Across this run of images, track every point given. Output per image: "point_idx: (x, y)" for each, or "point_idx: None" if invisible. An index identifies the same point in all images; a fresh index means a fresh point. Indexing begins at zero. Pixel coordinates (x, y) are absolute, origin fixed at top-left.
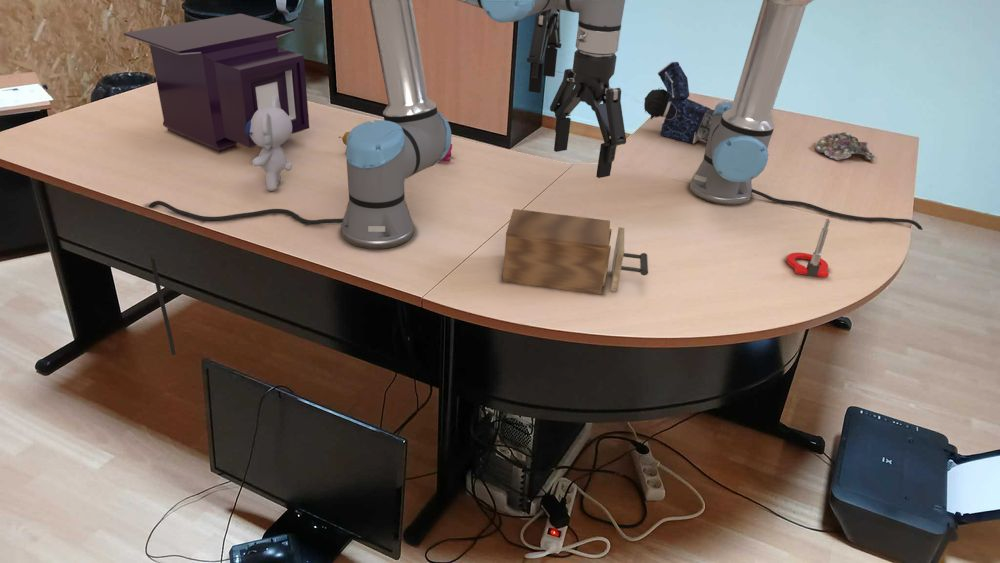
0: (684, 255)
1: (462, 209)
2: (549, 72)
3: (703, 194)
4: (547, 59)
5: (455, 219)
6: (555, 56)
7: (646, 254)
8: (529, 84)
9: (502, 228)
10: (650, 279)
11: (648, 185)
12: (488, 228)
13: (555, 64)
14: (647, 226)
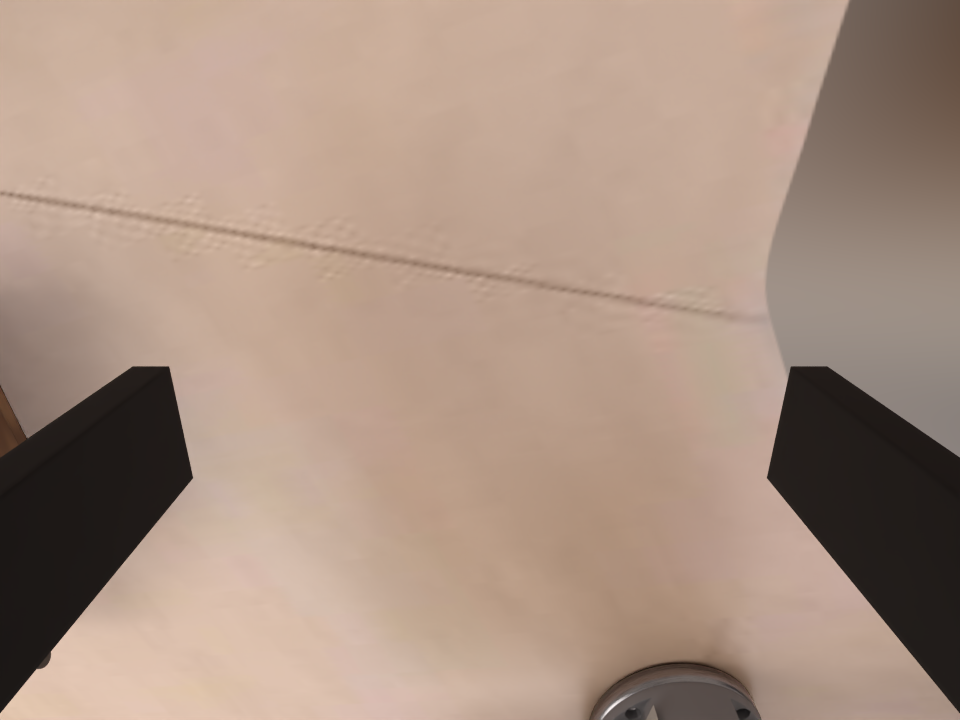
0: (257, 675)
1: (153, 8)
2: (801, 451)
3: (608, 705)
4: (914, 509)
5: (57, 12)
6: (924, 655)
7: (37, 668)
8: (88, 403)
9: (106, 215)
10: (94, 625)
11: (655, 567)
12: (74, 167)
13: (855, 571)
14: (368, 593)
